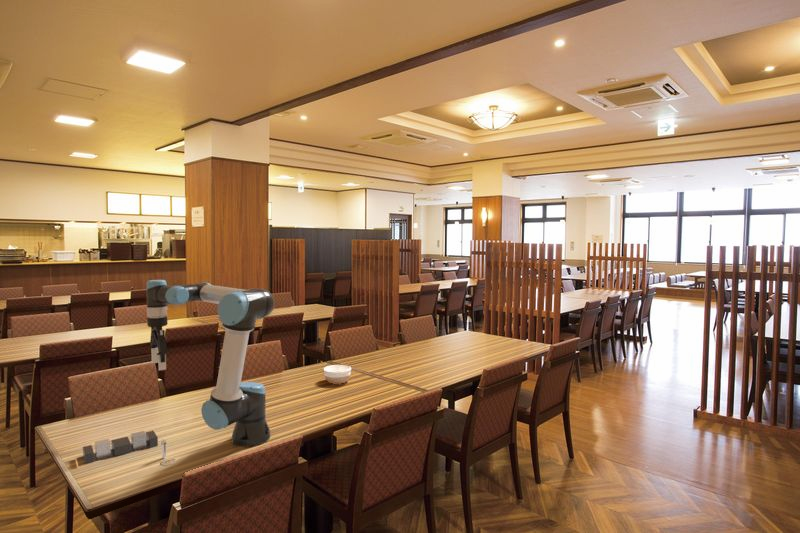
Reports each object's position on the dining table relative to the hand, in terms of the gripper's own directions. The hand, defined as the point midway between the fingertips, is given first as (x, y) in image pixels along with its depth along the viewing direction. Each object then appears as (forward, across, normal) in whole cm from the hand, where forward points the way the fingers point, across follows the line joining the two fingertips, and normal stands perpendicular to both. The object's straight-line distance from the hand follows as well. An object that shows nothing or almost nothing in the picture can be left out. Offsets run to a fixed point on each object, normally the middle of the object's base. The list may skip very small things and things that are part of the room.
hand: (158, 366), depth 196 cm
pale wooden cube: (+28, -10, +22) cm, 37 cm away
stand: (+29, -29, +4) cm, 41 cm away
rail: (+29, -10, +16) cm, 34 cm away
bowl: (+29, +14, -96) cm, 101 cm away
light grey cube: (+28, -10, +10) cm, 32 cm away
